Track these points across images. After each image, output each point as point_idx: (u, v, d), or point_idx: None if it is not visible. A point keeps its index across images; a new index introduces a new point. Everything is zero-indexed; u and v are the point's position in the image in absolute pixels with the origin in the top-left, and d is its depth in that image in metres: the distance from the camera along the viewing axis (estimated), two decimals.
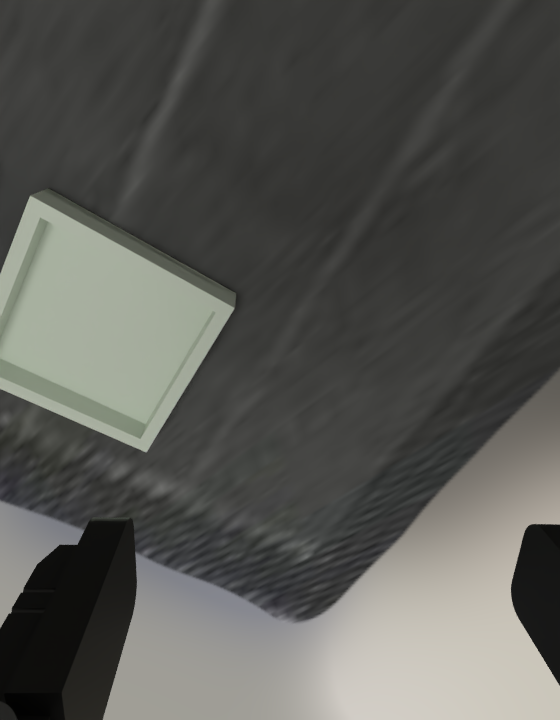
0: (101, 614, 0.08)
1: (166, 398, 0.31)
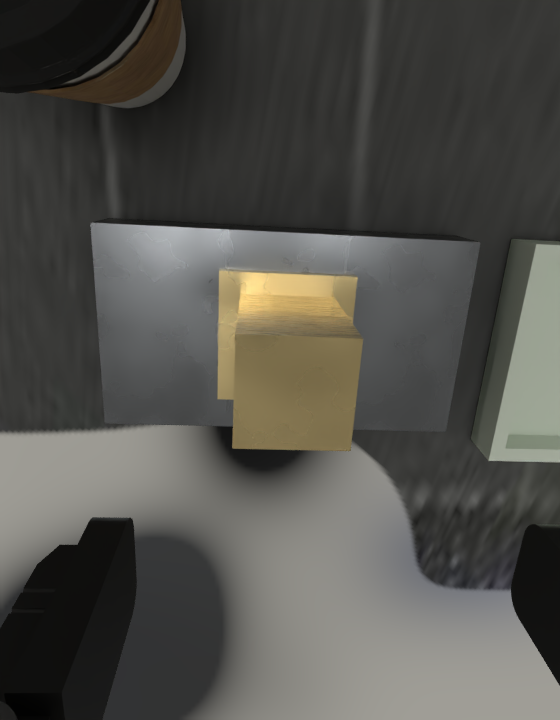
0: (102, 614, 0.08)
1: None
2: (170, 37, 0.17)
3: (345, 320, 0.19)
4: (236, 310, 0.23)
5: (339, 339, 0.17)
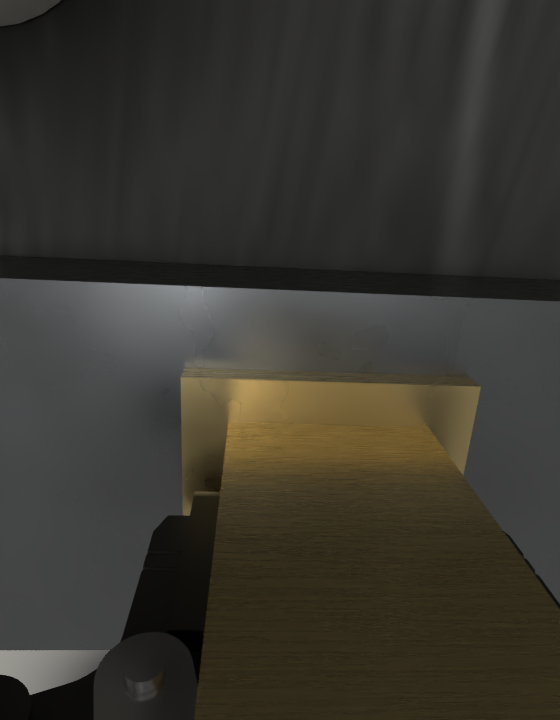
0: None
1: None
2: None
3: (513, 564, 0.07)
4: (220, 455, 0.11)
5: None
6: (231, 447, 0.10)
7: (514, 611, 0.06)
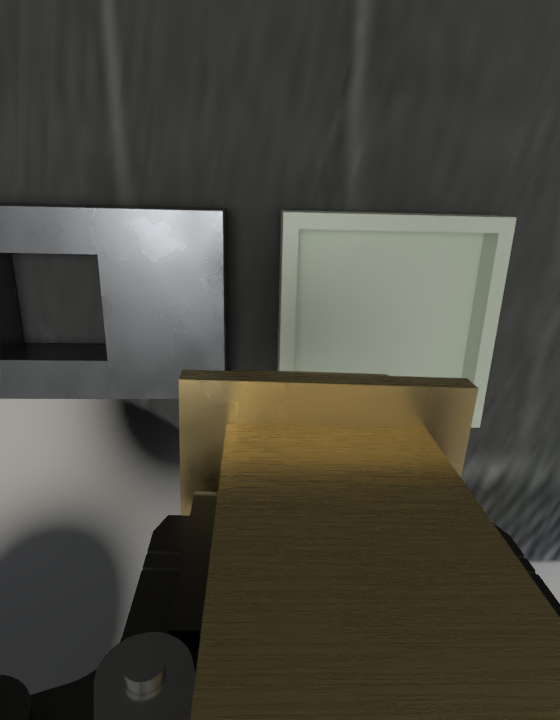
0: None
1: (480, 355, 0.28)
2: None
3: (509, 566, 0.07)
4: (218, 456, 0.11)
5: None
6: (229, 449, 0.10)
7: (510, 613, 0.06)
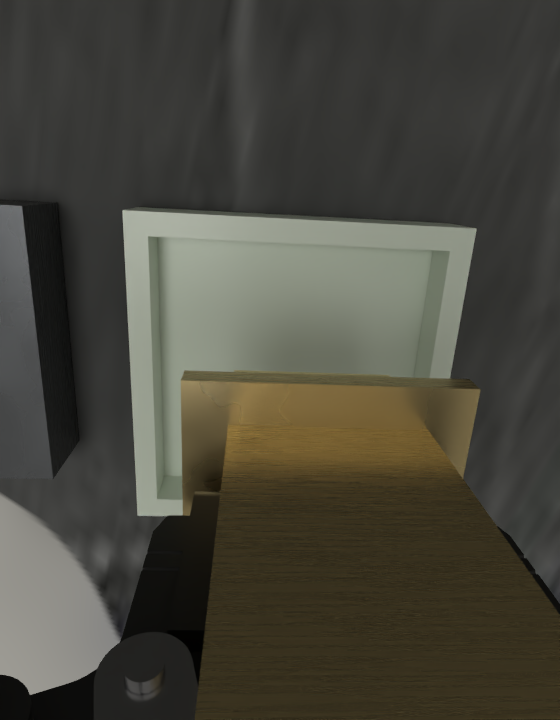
0: None
1: None
2: None
3: (512, 567, 0.07)
4: (220, 458, 0.11)
5: None
6: (231, 450, 0.10)
7: (513, 615, 0.06)
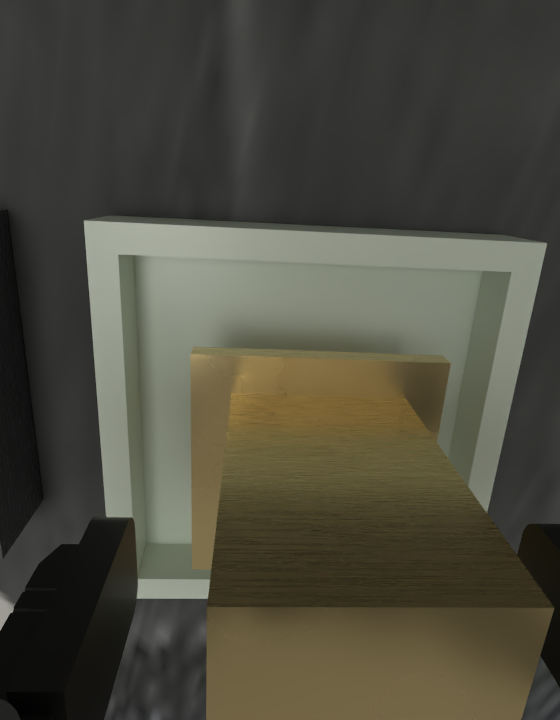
0: (104, 614, 0.08)
1: (471, 487, 0.16)
2: None
3: (464, 496, 0.09)
4: (224, 423, 0.13)
5: (490, 610, 0.06)
6: (234, 412, 0.11)
7: (459, 527, 0.08)
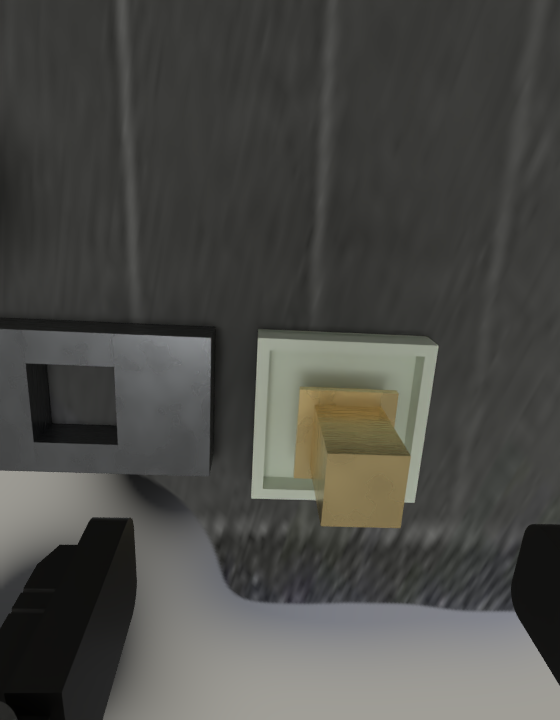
0: (101, 614, 0.08)
1: (413, 447, 0.35)
2: None
3: (395, 435, 0.28)
4: (311, 416, 0.32)
5: (395, 456, 0.26)
6: (318, 411, 0.31)
7: (392, 442, 0.27)
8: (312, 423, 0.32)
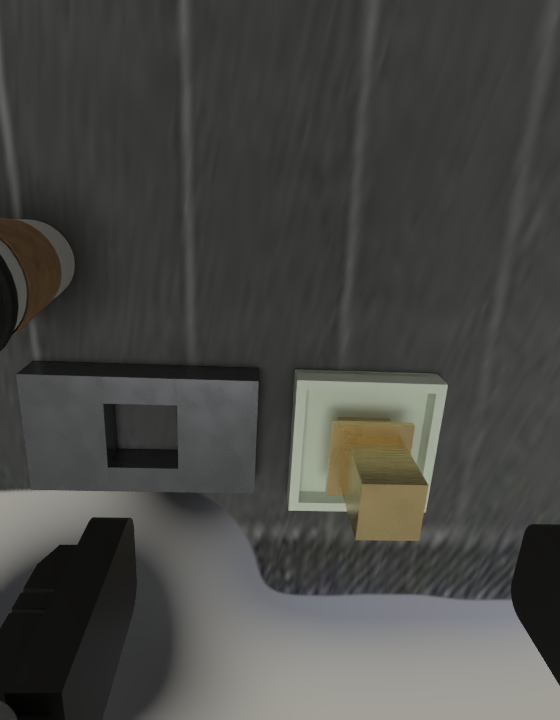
0: (101, 615, 0.08)
1: (425, 467, 0.42)
2: (47, 297, 0.32)
3: (414, 465, 0.35)
4: (341, 445, 0.39)
5: (416, 485, 0.32)
6: (348, 442, 0.37)
7: (412, 472, 0.34)
8: (342, 451, 0.39)
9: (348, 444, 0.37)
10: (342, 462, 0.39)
